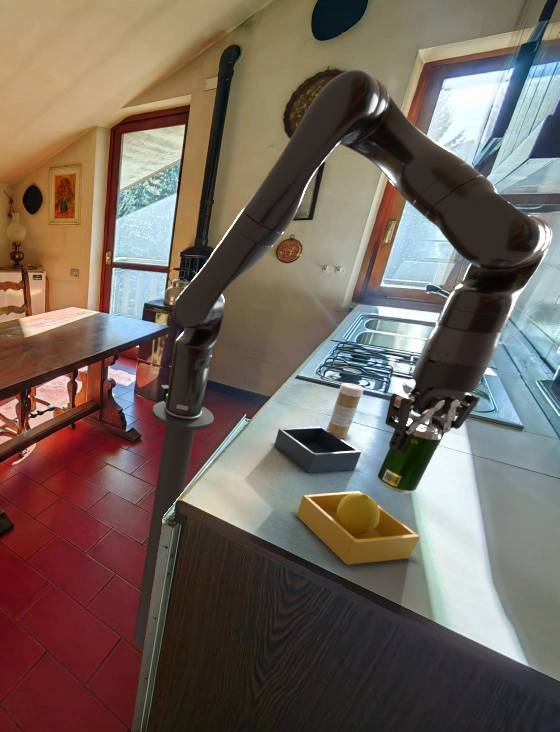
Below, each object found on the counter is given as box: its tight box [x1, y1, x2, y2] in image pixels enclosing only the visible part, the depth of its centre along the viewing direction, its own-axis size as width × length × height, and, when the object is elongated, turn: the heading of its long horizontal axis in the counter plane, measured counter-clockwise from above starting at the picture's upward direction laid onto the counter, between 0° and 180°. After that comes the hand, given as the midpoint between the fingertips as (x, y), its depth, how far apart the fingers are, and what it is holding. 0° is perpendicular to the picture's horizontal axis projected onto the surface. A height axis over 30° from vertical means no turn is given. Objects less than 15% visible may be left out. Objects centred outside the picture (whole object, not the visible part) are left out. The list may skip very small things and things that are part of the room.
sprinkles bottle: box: [325, 382, 365, 439], centre depth 97 cm, size 5×5×13 cm
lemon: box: [337, 492, 380, 534], centre depth 65 cm, size 6×6×8 cm
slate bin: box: [273, 426, 362, 474], centre depth 88 cm, size 11×11×5 cm
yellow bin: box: [296, 490, 421, 565], centre depth 66 cm, size 11×11×5 cm
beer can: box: [377, 418, 443, 494], centre depth 67 cm, size 5×5×12 cm
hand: (411, 449), depth 66 cm, fingers closed on beer can, 5 cm apart
